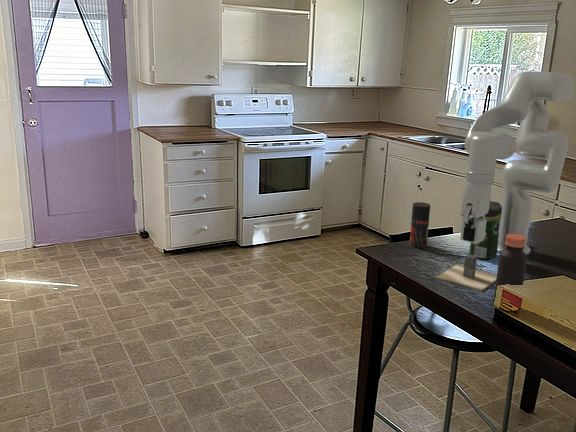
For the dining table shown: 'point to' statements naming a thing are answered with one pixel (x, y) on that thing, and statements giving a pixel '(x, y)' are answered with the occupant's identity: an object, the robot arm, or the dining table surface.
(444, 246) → the dining table surface
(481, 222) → the pale green rectangular prism
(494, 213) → the coffee jar
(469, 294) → the dining table surface
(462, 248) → the dining table surface
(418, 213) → the deodorant
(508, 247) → the bottle
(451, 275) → the post stand
